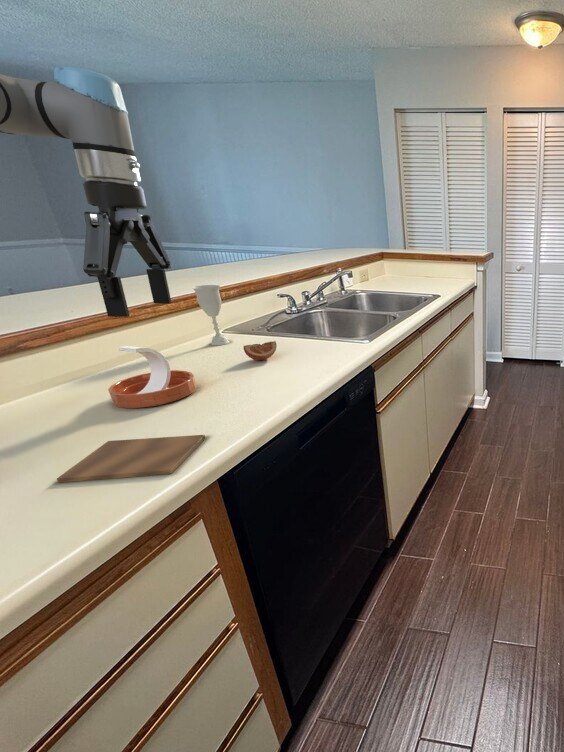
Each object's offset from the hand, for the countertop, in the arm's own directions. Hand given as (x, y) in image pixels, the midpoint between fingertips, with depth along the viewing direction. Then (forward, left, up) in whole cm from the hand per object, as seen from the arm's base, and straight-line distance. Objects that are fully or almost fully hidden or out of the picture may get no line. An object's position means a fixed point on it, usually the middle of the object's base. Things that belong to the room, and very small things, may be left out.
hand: (142, 309), depth 77 cm
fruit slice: (+3, +39, -24) cm, 46 cm away
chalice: (-16, +58, -24) cm, 65 cm away
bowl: (-12, +15, -23) cm, 30 cm away
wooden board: (0, -14, -23) cm, 27 cm away
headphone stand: (-12, +15, -23) cm, 30 cm away
